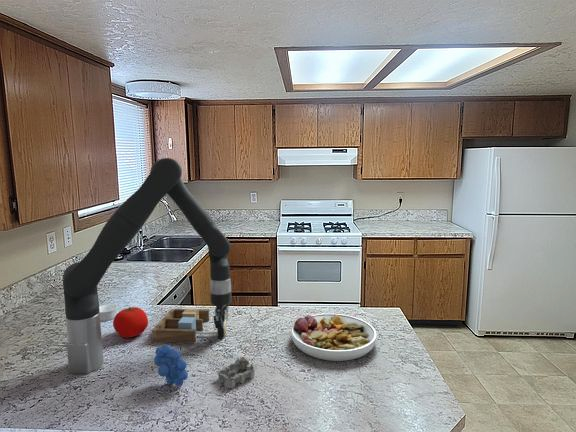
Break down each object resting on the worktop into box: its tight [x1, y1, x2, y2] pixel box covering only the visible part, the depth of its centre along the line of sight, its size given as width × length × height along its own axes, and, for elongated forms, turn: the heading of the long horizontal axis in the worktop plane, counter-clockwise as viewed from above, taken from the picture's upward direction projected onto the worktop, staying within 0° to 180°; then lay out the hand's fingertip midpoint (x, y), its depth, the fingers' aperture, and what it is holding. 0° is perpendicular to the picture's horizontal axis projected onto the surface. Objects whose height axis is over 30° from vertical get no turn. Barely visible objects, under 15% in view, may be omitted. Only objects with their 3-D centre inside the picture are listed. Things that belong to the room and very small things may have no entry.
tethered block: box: [178, 317, 227, 339], centre depth 140 cm, size 5×17×6 cm, turn 87°
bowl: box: [290, 313, 377, 362], centre depth 135 cm, size 30×30×8 cm
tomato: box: [112, 306, 149, 339], centre depth 141 cm, size 11×12×10 cm
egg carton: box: [216, 356, 257, 388], centre depth 114 cm, size 11×8×4 cm
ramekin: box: [99, 303, 119, 322], centre depth 157 cm, size 9×9×4 cm
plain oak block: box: [182, 308, 200, 319], centre depth 150 cm, size 5×5×6 cm
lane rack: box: [151, 308, 210, 344], centre depth 145 cm, size 20×16×4 cm
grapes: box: [153, 343, 189, 387], centre depth 109 cm, size 12×7×12 cm, turn 67°
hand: (222, 334), depth 140 cm, fingers closed on tethered block, 3 cm apart
